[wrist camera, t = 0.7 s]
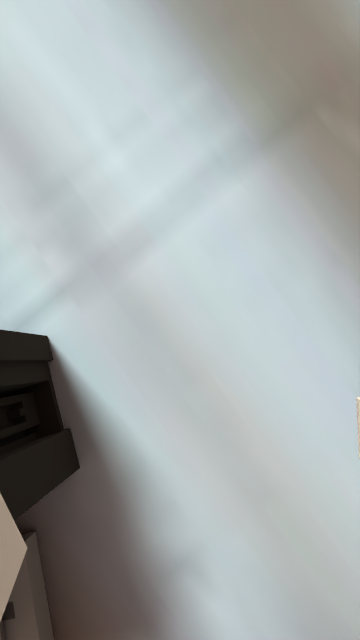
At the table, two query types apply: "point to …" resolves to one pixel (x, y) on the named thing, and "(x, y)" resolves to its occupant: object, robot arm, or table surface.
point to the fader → (1, 631)
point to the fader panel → (28, 599)
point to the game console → (30, 424)
